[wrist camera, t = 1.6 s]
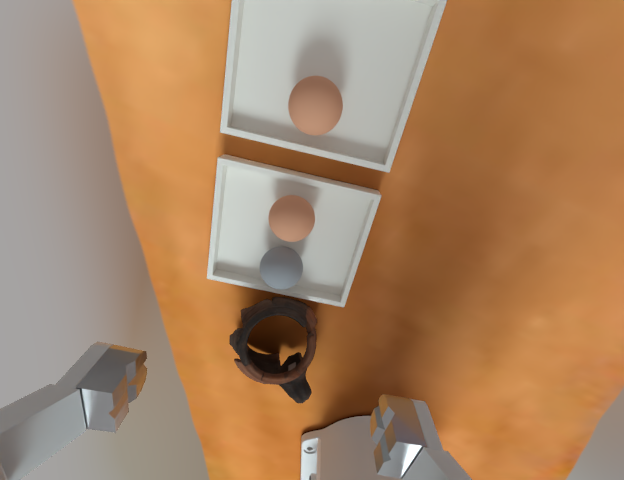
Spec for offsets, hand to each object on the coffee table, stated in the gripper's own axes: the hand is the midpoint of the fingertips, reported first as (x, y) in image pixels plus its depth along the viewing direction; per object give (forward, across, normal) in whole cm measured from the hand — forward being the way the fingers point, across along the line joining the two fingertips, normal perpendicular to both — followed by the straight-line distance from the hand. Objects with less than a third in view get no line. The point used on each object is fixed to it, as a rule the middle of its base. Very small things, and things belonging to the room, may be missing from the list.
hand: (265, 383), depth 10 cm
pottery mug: (+19, -1, +16) cm, 25 cm away
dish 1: (+20, 0, -11) cm, 22 cm away
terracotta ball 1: (+19, 0, +1) cm, 19 cm away
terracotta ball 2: (+19, 0, -8) cm, 21 cm away
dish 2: (+19, 0, +3) cm, 20 cm away
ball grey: (+19, 0, +6) cm, 20 cm away
